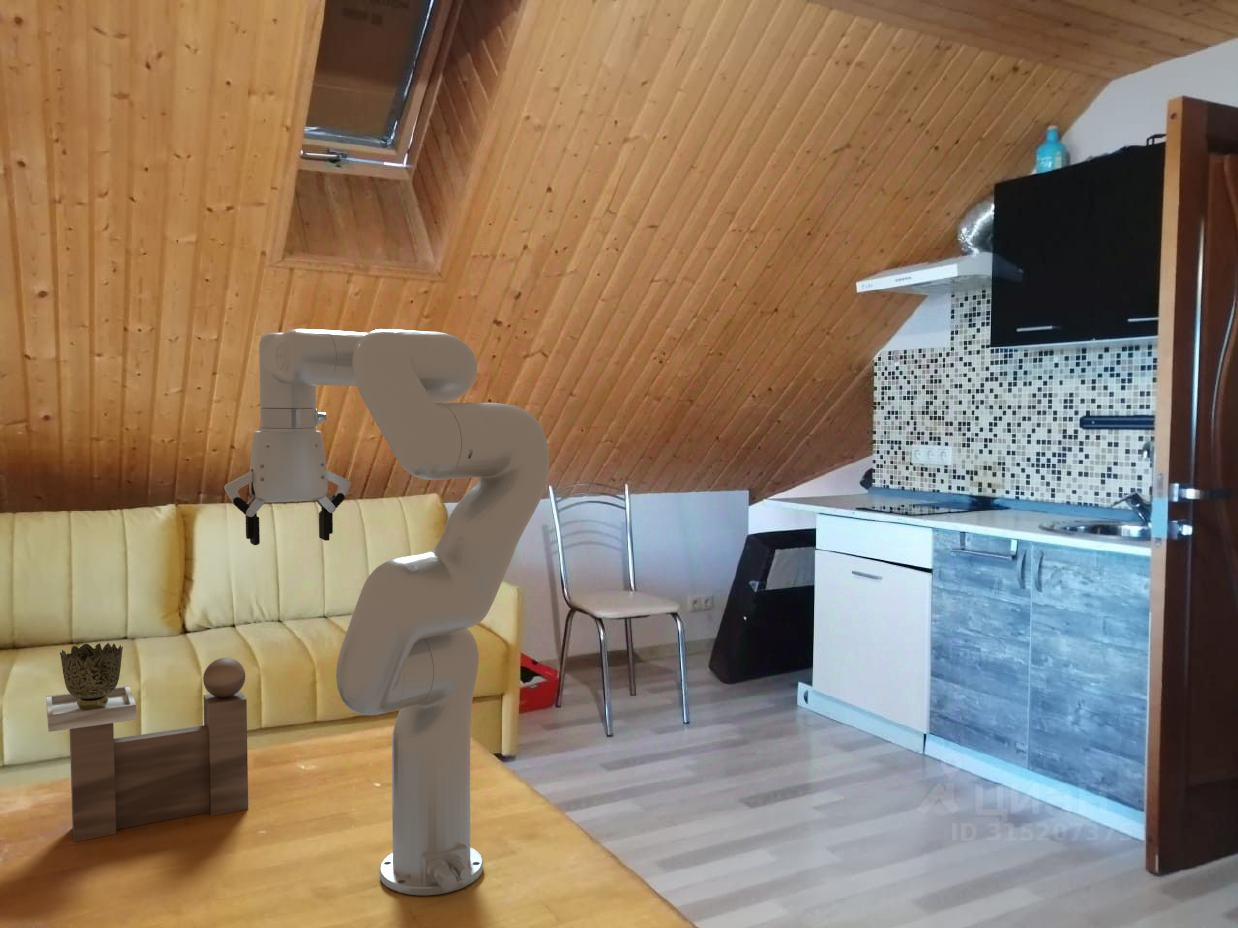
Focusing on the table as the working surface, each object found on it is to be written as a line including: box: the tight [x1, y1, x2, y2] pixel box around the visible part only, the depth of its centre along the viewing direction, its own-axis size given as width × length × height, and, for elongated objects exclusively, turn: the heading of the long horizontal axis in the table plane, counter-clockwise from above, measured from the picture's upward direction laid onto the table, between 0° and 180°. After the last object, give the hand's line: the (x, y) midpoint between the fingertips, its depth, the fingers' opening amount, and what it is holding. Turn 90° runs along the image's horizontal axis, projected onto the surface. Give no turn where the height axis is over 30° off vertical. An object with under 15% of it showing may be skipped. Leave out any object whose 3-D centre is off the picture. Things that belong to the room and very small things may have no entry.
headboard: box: [45, 657, 249, 843], centre depth 141 cm, size 10×25×22 cm, turn 120°
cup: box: [59, 642, 124, 710], centre depth 137 cm, size 8×7×8 cm
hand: (290, 541), depth 145 cm, fingers open, 9 cm apart
